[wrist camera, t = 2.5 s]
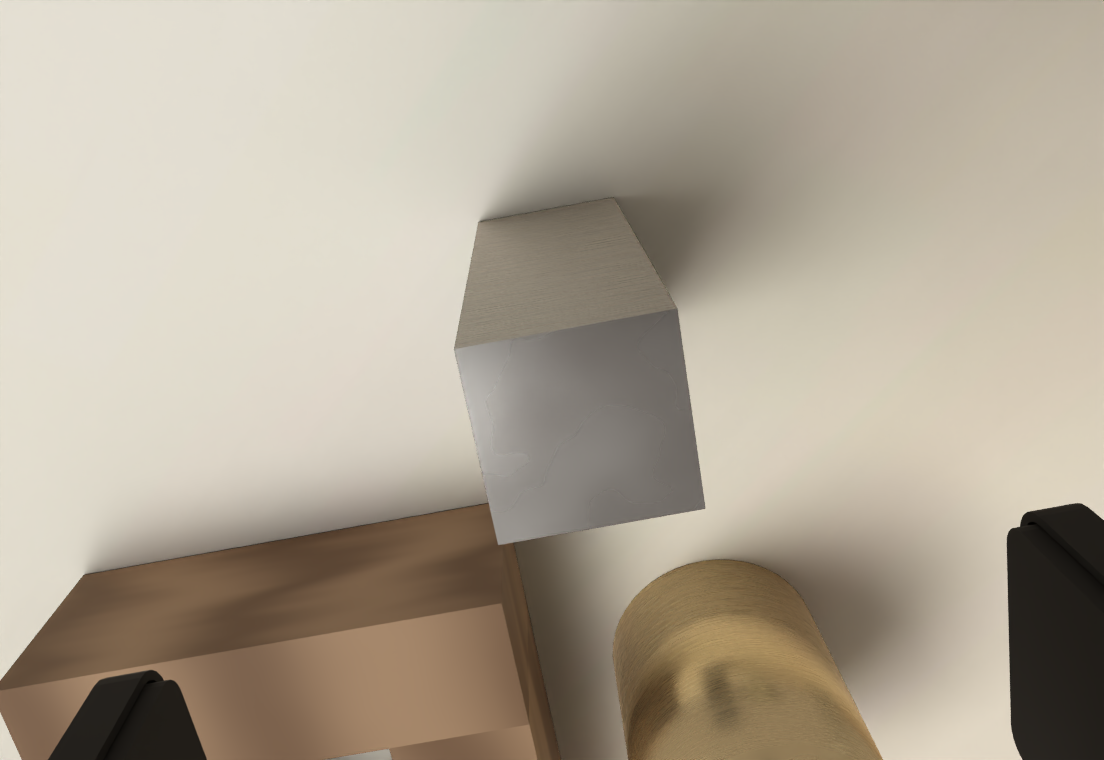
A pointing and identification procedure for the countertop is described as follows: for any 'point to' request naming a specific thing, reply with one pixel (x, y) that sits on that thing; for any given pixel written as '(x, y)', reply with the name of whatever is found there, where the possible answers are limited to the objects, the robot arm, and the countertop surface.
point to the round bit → (731, 672)
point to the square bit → (574, 375)
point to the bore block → (310, 646)
